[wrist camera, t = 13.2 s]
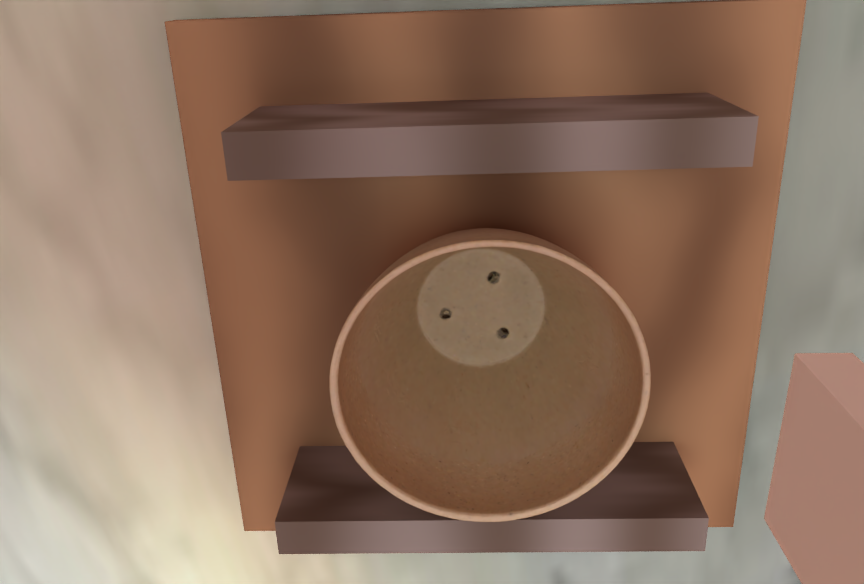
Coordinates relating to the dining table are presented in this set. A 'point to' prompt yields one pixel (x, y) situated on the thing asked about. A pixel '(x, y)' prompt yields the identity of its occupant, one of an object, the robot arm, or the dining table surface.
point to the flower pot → (489, 377)
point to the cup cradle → (488, 208)
